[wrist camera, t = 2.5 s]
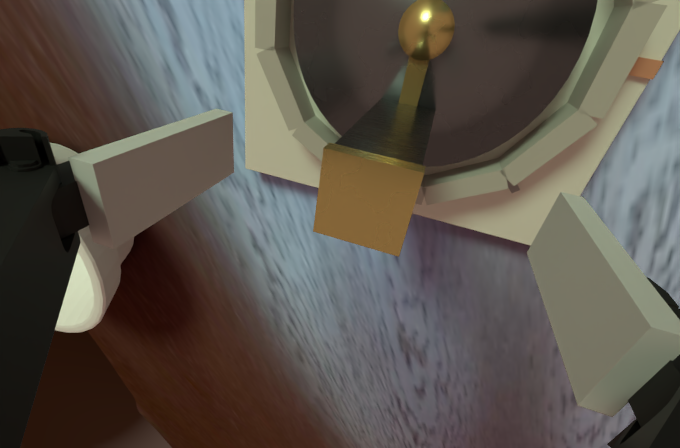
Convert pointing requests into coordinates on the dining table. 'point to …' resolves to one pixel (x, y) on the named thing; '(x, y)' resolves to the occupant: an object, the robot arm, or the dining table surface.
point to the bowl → (89, 275)
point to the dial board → (491, 167)
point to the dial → (423, 93)
